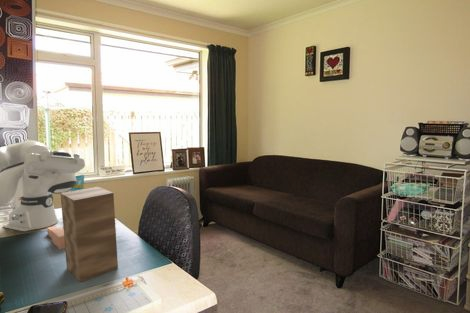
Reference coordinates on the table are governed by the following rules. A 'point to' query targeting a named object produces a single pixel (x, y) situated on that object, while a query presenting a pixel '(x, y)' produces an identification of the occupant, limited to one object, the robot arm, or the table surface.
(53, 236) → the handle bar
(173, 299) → the table surface
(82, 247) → the walnut pedestal
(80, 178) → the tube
